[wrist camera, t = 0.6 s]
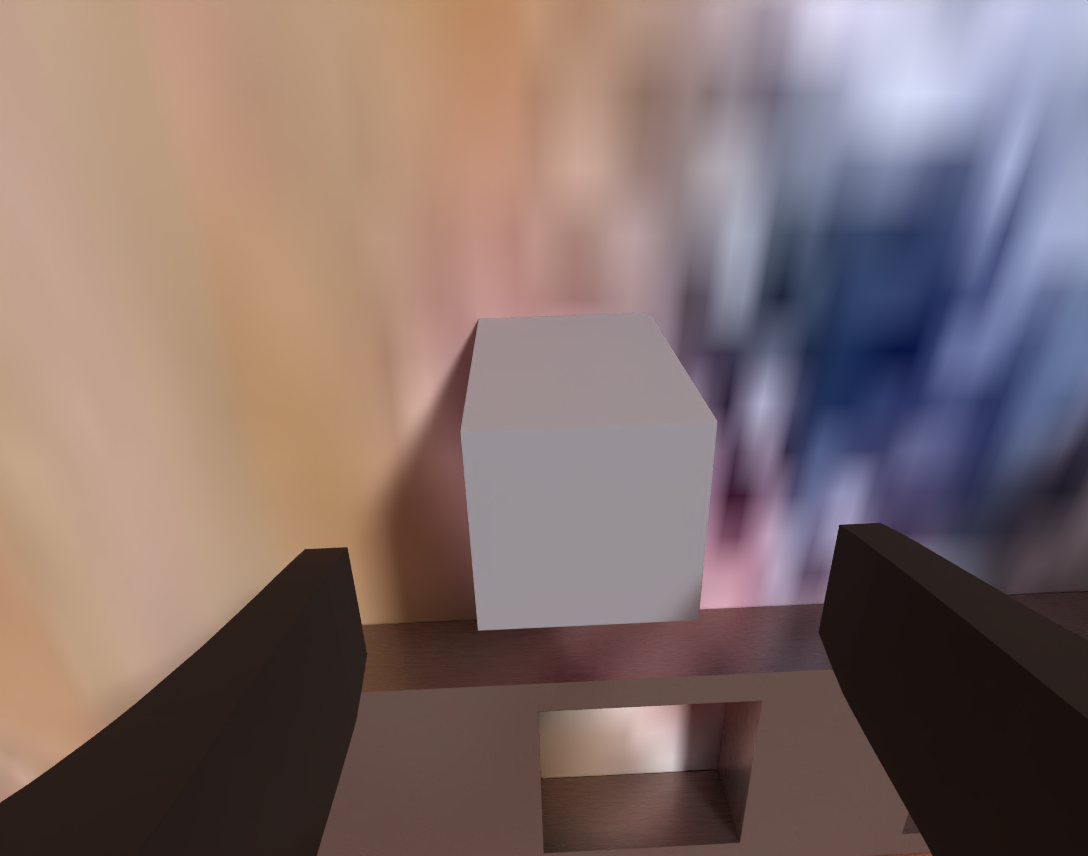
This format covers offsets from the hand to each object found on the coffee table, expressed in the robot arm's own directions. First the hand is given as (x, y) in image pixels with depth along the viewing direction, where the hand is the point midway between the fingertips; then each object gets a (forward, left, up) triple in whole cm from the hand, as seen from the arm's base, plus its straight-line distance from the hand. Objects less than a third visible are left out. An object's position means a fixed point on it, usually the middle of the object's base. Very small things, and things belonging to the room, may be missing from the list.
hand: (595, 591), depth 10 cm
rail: (-4, +11, -7) cm, 14 cm away
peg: (0, 0, -8) cm, 8 cm away
